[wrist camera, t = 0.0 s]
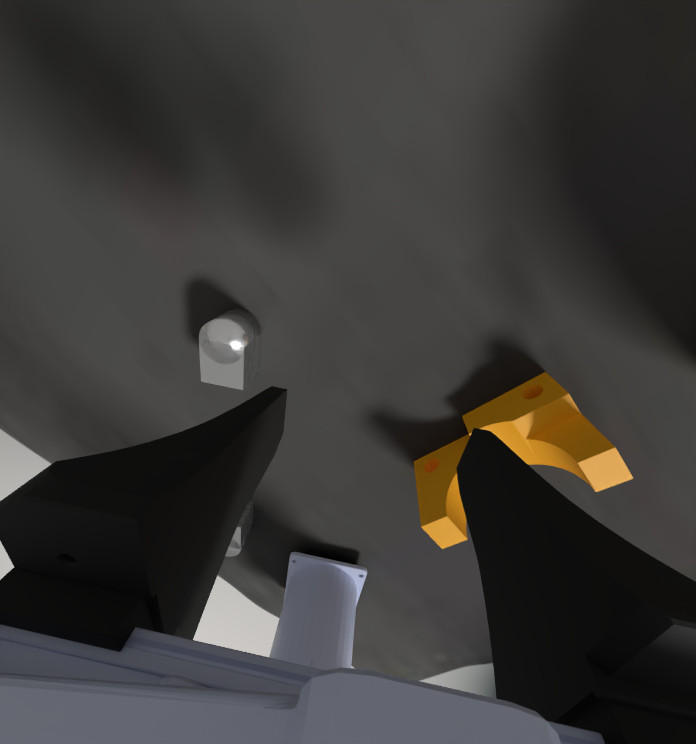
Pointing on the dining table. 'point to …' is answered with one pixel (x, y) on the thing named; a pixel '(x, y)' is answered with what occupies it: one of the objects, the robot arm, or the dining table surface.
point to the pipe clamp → (517, 451)
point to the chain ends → (232, 374)
